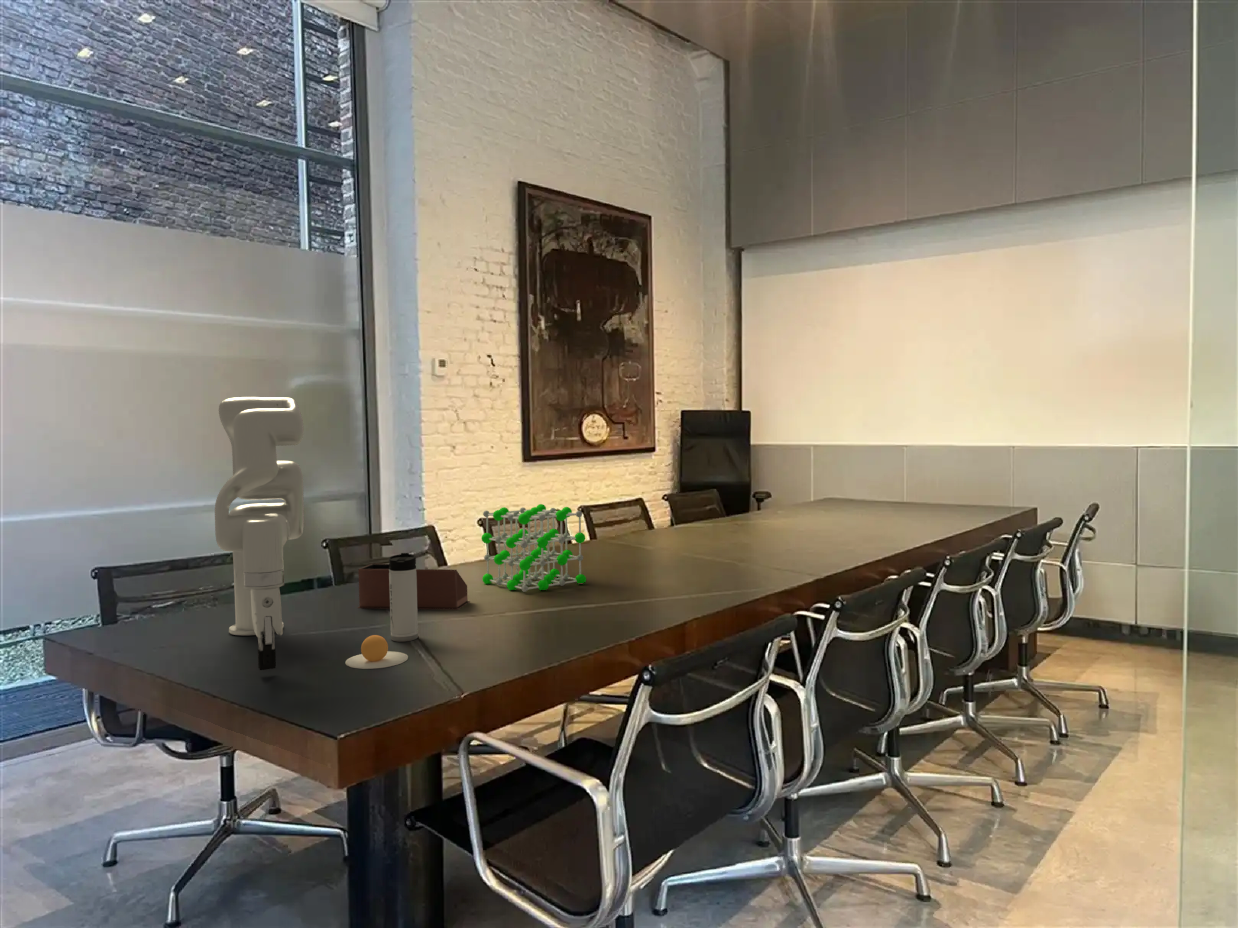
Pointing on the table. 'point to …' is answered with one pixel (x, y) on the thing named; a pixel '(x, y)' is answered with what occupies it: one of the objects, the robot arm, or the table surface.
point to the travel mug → (403, 597)
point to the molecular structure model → (541, 551)
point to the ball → (374, 648)
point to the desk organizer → (432, 588)
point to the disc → (387, 661)
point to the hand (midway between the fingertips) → (267, 668)
